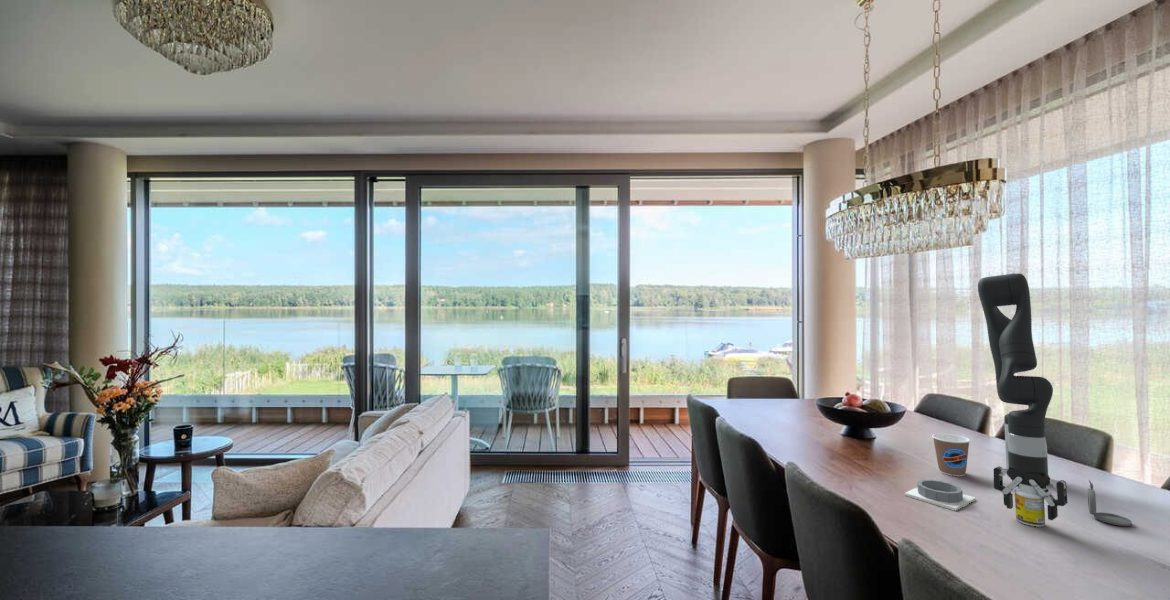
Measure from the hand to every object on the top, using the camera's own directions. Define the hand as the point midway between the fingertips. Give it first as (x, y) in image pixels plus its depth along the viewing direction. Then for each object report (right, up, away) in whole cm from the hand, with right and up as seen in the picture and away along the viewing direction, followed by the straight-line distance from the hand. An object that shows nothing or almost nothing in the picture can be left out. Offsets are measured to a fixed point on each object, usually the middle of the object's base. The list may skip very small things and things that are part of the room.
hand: (1029, 513), depth 121 cm
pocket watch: (+21, -2, +1) cm, 21 cm away
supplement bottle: (0, -3, 0) cm, 3 cm away
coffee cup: (+9, -3, +36) cm, 38 cm away
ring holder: (-11, -3, +17) cm, 20 cm away
